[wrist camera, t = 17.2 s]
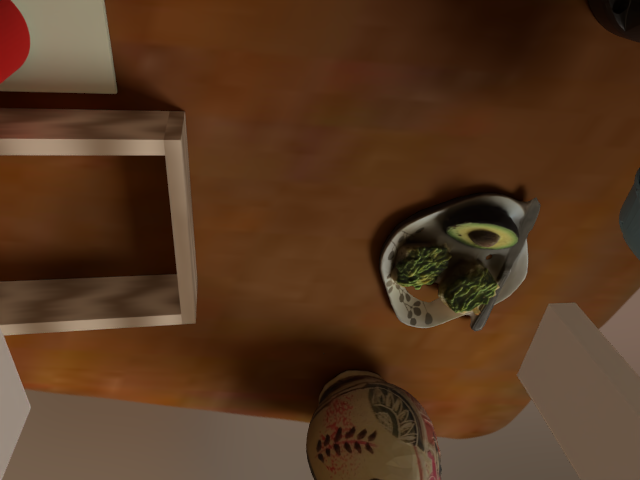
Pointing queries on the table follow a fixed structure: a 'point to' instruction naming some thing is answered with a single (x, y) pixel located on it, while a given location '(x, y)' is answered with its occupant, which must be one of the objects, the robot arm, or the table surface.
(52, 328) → the frame
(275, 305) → the table surface
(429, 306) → the salad plate
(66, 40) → the mat
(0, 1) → the beverage can
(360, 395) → the ceramic jug
